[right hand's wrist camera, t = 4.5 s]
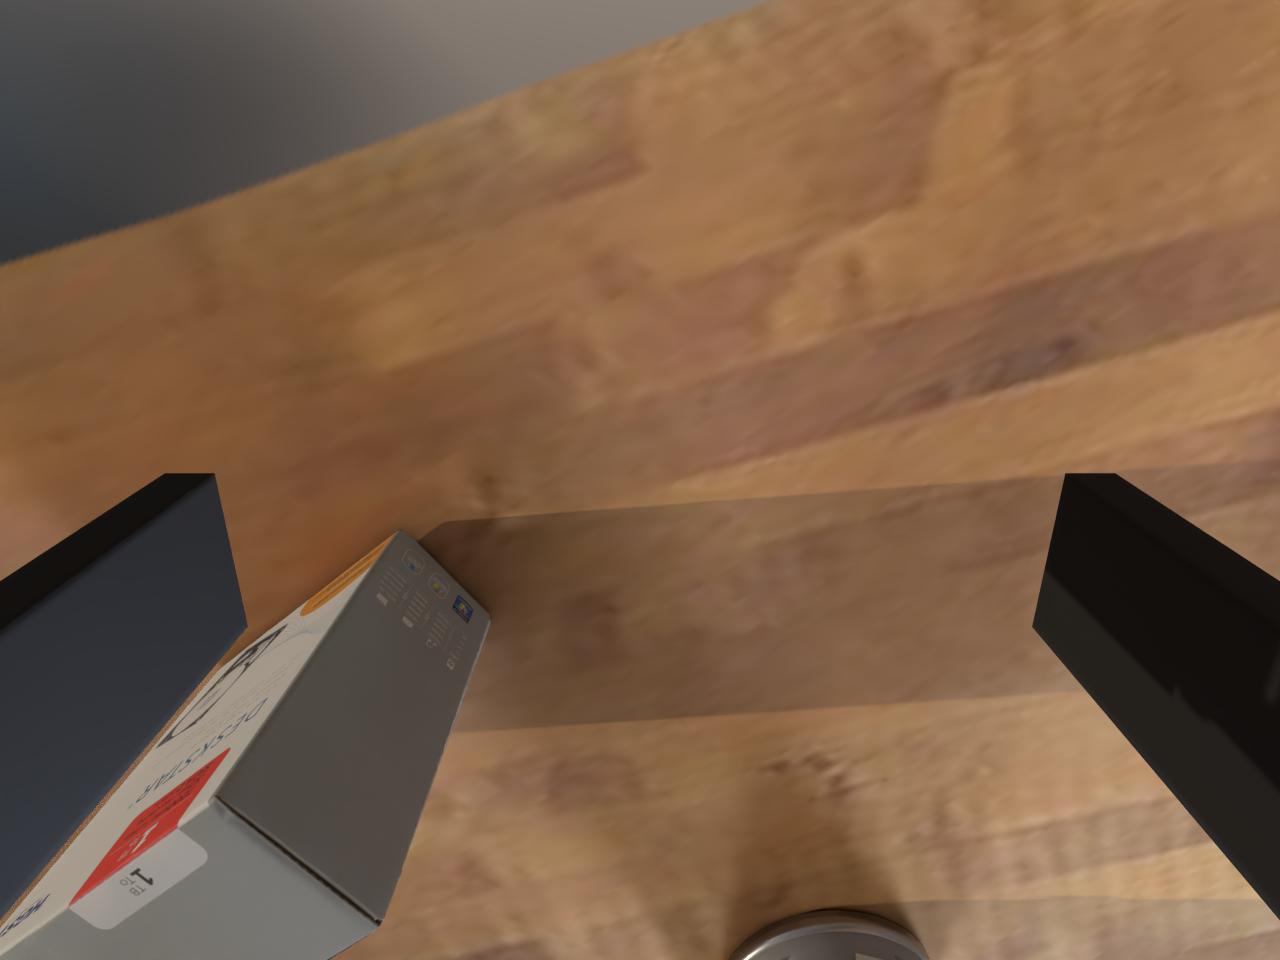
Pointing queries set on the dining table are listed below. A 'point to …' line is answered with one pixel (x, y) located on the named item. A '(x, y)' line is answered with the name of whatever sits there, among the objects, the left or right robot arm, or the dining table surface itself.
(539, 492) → the dining table surface
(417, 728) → the hard drive box
